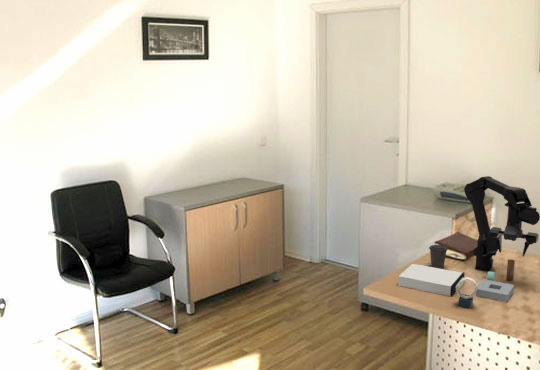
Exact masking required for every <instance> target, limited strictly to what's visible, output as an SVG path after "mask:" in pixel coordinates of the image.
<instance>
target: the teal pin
mask: <svg viewBox="0 0 540 370" xmlns="http://www.w3.org/2000/svg"><path fill="white" fill-rule="evenodd" d="M495 276H496V273H495V272H494V271H489V272H488V271H487V276H486V280H490V281H495Z"/></svg>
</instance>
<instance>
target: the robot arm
mask: <svg viewBox="0 0 540 370" xmlns="http://www.w3.org/2000/svg"><path fill="white" fill-rule="evenodd" d="M463 189H464V191H463V192H464V195H465V197H466V199H467V200H468V201H469V202H470V203H471V207H472V211H473V214H474V215H473V216H474V218H475V219H474V220H475V222H476V227H477V231H478V238H477V241H476V243H477V246H476V247H475V248H474V249H472V254H473V256H474V257H476V258H475V267H474V268H473V269H474V270H478V271H483V272H487V273H488V272H491V270H492V269H493V268H494V259H493V257H495V256H496V255H497V253H500V254H501V253H502V246H503V244H502V243H503V241H502V240H503V239H504V240H505V241H508V240H509V241H512V242H515V241H516V240H517V239H523V240H525V242H524V247H523V250H522V257H525V256H526V255H525V254H526V253H527V250H528V248H529V246H530V245H534V244H537V243H538V241H539V236H540V235H539V234H538V233H537V232H530V231H528V232H527V233H524V232H523V229H522V227H523V226H522V225H523V223H525V224H528V225H531V226H534V225H537V224H538V223H539V222H540V213H539V211H537V207H532V202H531V200H530V198H529V196H528V193H527V190H526V189H525V188H523V187H517V186H510V185H509V184H506V183H503V182H501V181H499V180H497V179H495V178H493V177H492V176H489V175H486V176H482V177H479V178H478V179H475V180H473V181H472V182H470V183H467V184H466V185H465V186H464V187H463ZM488 189H489V190H491V191H493V192H495V193H497V194H499V195H501V196H503V199H504V200H505V201H507V202H506V203H505V204H504V206H505V207H507V220H506V226H505V227H504V230H503V229H502V228H501V227H496V226H493V227H490V224H489V220H488V216H487V211H486V207H485V203H484V201H485V197H486V191H487V190H488ZM502 236H503V237H502ZM498 251H499V252H498Z"/></svg>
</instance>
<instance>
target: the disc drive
mask: <svg viewBox="0 0 540 370" xmlns="http://www.w3.org/2000/svg"><path fill="white" fill-rule="evenodd" d="M465 274H466V273H465V272H464V271H462V272H460V271H454V270H450V269H444V268H443V269H439V268H434V267H431V266H427V265H421V264H416V263H412V264H410V265H409V267H407V268H406V269H405V270H404V271H402V272H401V273H400V274H399V275H398V281H397V283H398V284H397V285H398V286H399V287H404V288H408V289H413V290H418V291H424V292H427V293H433V294H438V295H442V294H443V295H442V296H447V297H453V296H454V295H455V294H456V293H457V292H456V288H455V287H456V285H457V284H458V282H459V281H460V280H461V279H462V278H465ZM455 292H456V293H455Z"/></svg>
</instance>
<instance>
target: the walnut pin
mask: <svg viewBox="0 0 540 370" xmlns="http://www.w3.org/2000/svg"><path fill="white" fill-rule="evenodd" d="M515 264H516V260H514V259H507V264H506V265H507V266H506V274H505V275H506V277H505V280H506V282H508V283H509V282H510V283H513V282H514V275H515V266H516V265H515Z"/></svg>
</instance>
